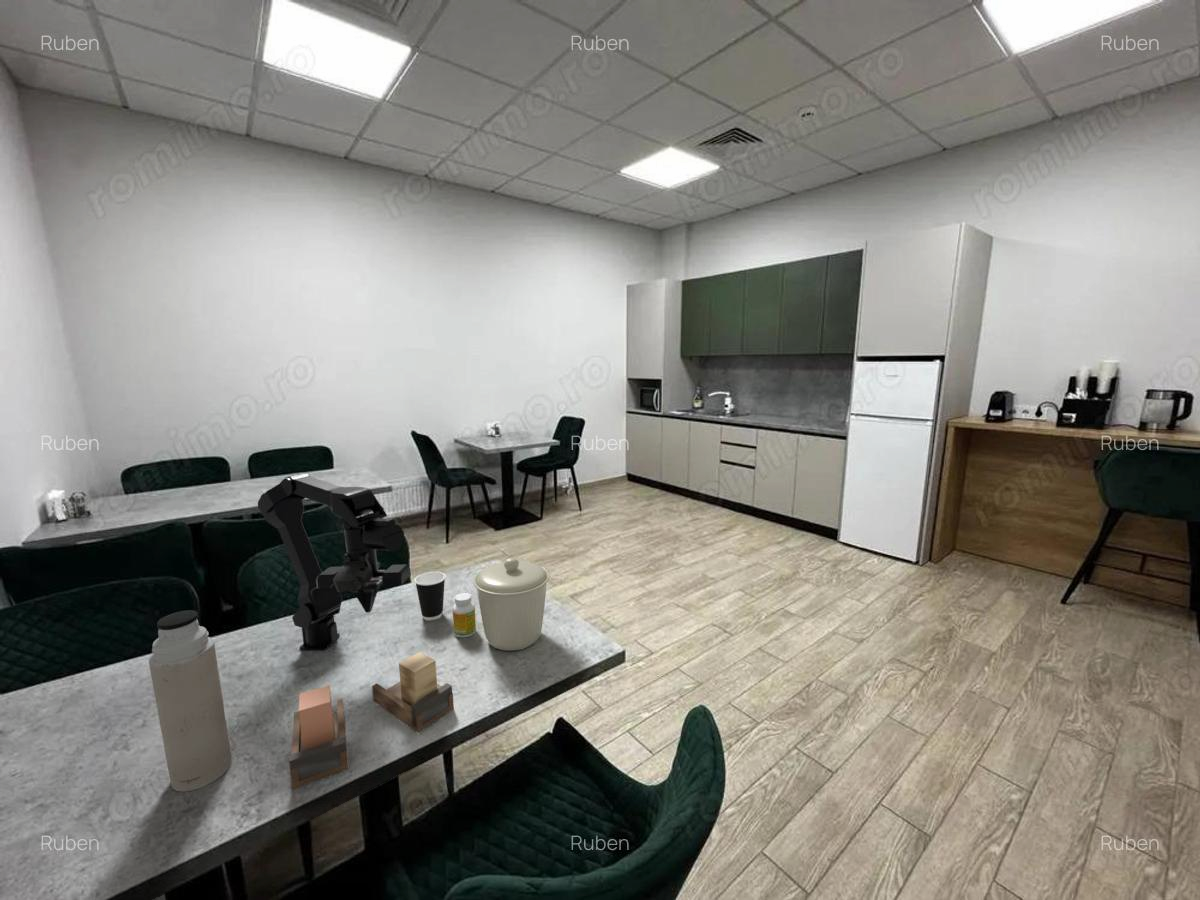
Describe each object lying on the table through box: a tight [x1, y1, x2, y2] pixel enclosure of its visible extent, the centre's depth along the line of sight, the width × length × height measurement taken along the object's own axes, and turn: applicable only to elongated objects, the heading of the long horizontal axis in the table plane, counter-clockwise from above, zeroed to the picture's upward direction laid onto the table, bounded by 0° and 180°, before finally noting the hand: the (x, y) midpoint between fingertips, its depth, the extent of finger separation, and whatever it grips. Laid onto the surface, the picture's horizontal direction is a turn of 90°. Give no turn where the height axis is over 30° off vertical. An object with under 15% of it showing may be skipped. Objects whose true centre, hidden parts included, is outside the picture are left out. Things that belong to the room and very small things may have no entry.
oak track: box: [371, 681, 455, 734], centre depth 97 cm, size 15×8×5 cm, turn 55°
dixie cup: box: [413, 571, 447, 622], centre depth 131 cm, size 8×8×11 cm
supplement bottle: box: [452, 592, 477, 638], centre depth 123 cm, size 5×5×10 cm
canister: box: [472, 557, 550, 652], centre depth 119 cm, size 18×18×21 cm
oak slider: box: [398, 651, 438, 706], centre depth 95 cm, size 5×5×9 cm
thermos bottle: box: [148, 609, 233, 793], centre depth 79 cm, size 8×8×28 cm
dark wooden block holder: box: [288, 697, 349, 790], centre depth 86 cm, size 15×8×5 cm, turn 30°
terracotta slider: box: [298, 684, 335, 750], centre depth 85 cm, size 5×5×9 cm
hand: (368, 611), depth 110 cm, fingers closed
